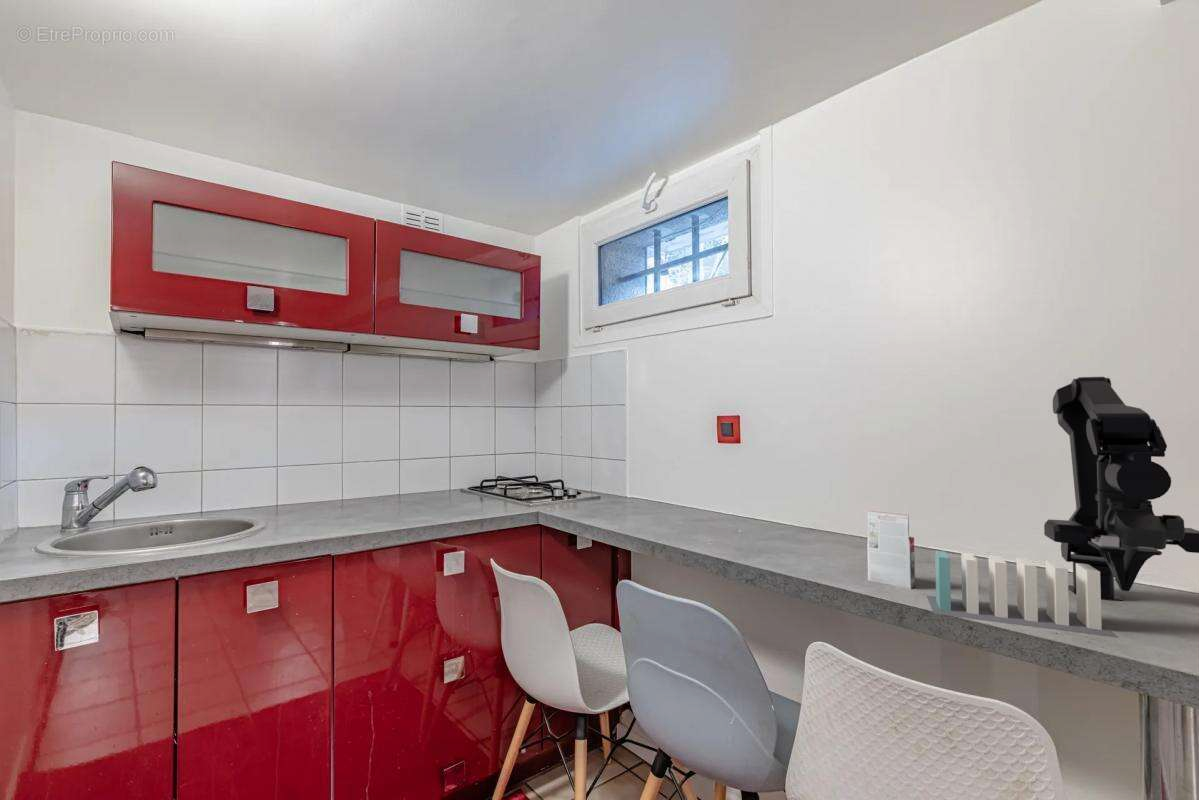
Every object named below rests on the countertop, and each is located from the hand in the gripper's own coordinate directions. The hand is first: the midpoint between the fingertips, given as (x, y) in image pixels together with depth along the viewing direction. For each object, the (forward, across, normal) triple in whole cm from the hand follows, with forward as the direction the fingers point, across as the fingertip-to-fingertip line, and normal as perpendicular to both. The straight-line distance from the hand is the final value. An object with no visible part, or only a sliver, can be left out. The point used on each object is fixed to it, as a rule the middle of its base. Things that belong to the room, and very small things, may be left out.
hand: (1124, 590), depth 86 cm
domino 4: (+6, -12, 0) cm, 14 cm away
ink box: (+7, -32, +11) cm, 34 cm away
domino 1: (+6, -24, 0) cm, 25 cm away
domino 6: (+6, -4, 0) cm, 7 cm away
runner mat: (+6, -14, 0) cm, 16 cm away
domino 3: (+6, -16, 0) cm, 18 cm away
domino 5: (+6, -8, 0) cm, 10 cm away
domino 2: (+6, -20, 0) cm, 21 cm away
